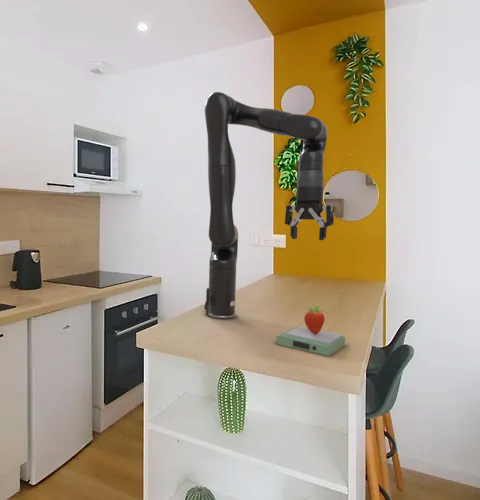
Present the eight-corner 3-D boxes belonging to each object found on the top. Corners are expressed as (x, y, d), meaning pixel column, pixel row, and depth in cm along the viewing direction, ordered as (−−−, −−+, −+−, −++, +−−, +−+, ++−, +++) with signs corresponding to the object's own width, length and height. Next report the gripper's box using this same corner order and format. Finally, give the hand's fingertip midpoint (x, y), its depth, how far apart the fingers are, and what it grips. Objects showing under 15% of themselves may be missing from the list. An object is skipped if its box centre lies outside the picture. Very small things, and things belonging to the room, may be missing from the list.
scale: (276, 344, 115) (276, 333, 114) (295, 335, 124) (296, 324, 123) (327, 356, 105) (328, 344, 105) (344, 345, 114) (345, 334, 114)
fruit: (325, 337, 111) (326, 307, 110) (304, 335, 112) (305, 306, 112) (322, 331, 116) (324, 303, 116) (303, 330, 118) (304, 302, 117)
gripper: (338, 185, 124) (335, 240, 126) (293, 187, 134) (291, 238, 135) (329, 184, 119) (326, 241, 120) (282, 186, 129) (280, 238, 130)
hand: (307, 239), depth 128 cm, fingers open, 8 cm apart
